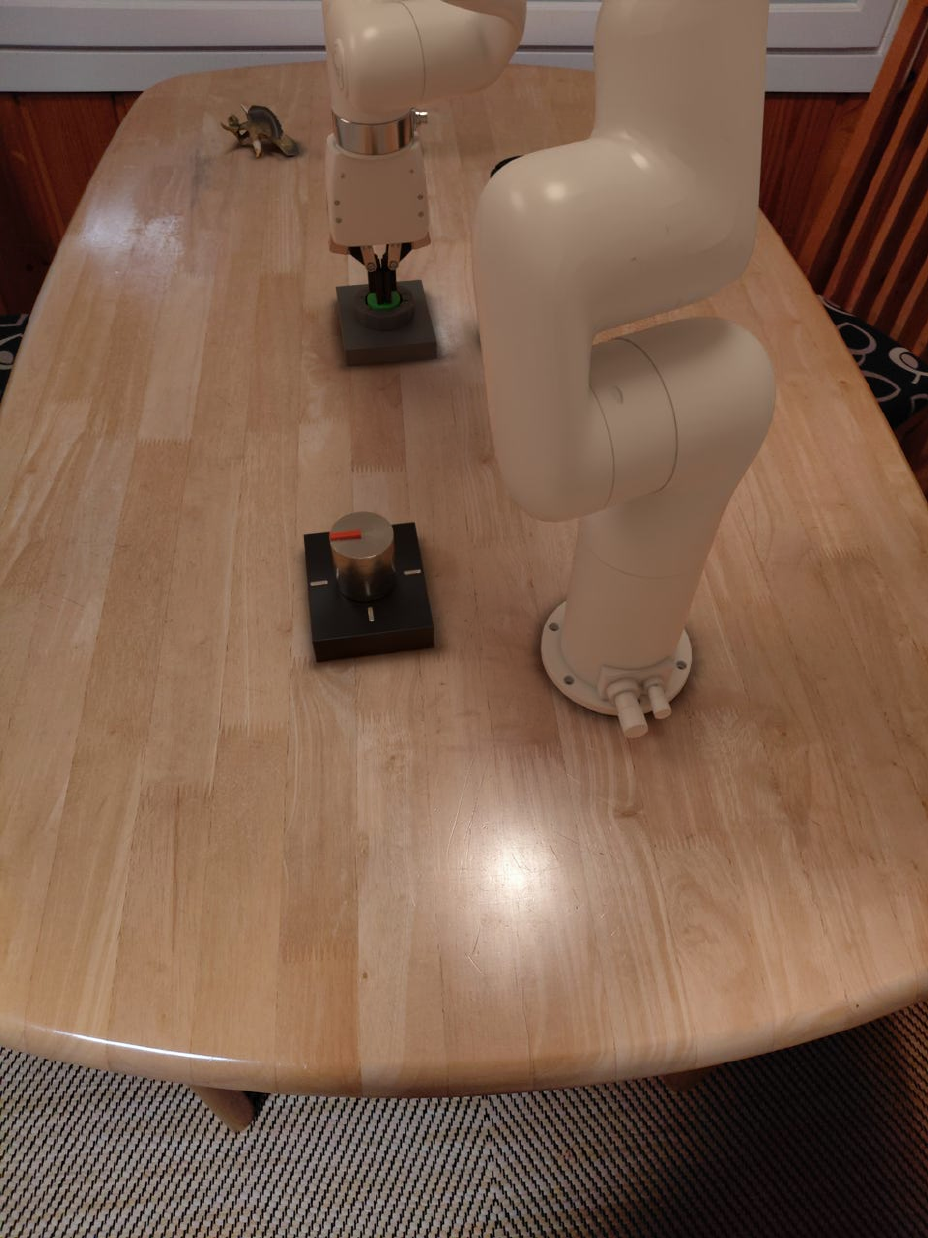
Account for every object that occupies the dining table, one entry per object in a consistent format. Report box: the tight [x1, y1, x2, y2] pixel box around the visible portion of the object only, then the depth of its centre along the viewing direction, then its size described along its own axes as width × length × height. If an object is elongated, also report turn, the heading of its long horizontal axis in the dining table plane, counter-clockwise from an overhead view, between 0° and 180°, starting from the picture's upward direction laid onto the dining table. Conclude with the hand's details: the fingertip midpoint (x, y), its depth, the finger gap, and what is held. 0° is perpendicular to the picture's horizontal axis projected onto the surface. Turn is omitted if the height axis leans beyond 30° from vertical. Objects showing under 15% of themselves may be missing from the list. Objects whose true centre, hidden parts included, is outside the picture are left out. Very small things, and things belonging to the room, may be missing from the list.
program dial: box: [329, 511, 397, 602], centre depth 77 cm, size 5×5×6 cm
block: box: [335, 279, 438, 367], centre depth 104 cm, size 12×10×4 cm
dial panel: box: [303, 521, 435, 663], centre depth 81 cm, size 12×10×3 cm
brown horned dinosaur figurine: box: [219, 103, 300, 158], centre depth 129 cm, size 8×7×9 cm
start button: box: [367, 291, 400, 311], centre depth 103 cm, size 4×4×2 cm
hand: (383, 296), depth 103 cm, fingers closed
